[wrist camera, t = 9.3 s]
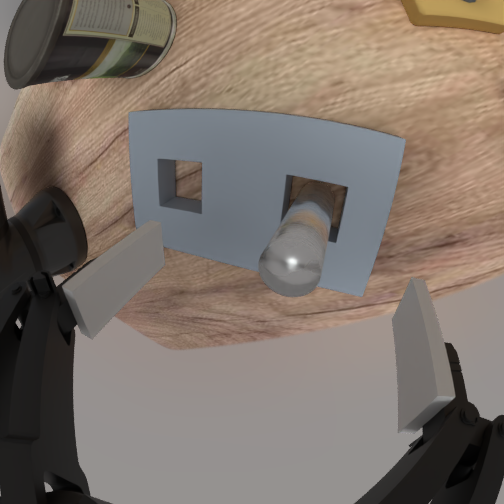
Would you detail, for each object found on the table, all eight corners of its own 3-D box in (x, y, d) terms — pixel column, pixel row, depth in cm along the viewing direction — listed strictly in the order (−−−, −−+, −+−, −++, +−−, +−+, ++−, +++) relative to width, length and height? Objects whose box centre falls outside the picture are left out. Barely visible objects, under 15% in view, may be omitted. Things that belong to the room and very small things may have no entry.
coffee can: (149, 91, 23) (30, 105, 11) (96, 64, 23) (-4, 75, 11) (196, 7, 17) (83, -34, 6) (132, -8, 17) (32, -25, 5)
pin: (296, 211, 25) (255, 288, 15) (301, 178, 23) (261, 235, 13) (331, 219, 24) (313, 303, 14) (337, 185, 22) (327, 250, 12)
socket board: (152, 228, 31) (137, 239, 29) (148, 110, 24) (128, 112, 22) (361, 278, 26) (361, 297, 23) (398, 136, 18) (405, 139, 16)
